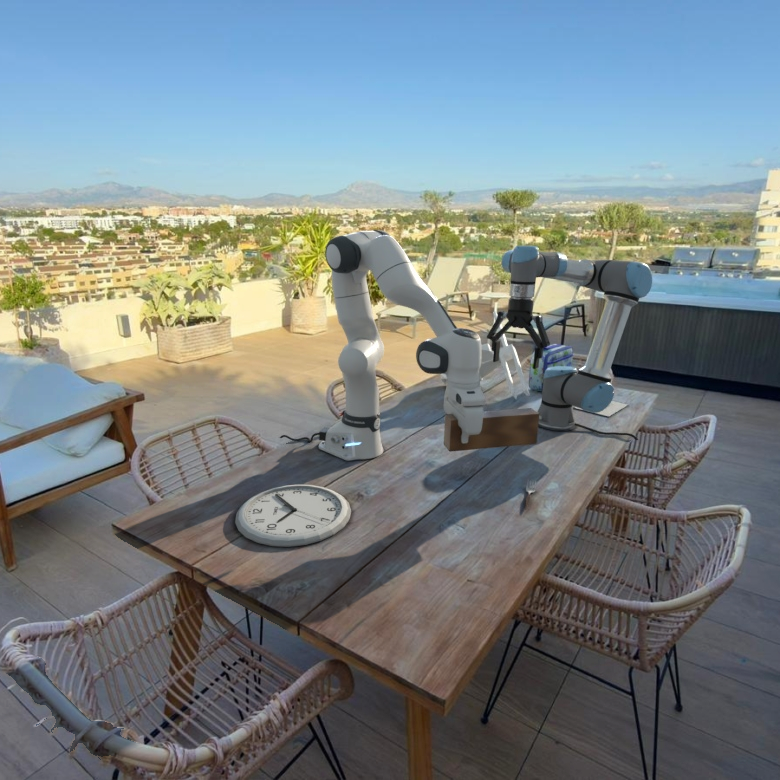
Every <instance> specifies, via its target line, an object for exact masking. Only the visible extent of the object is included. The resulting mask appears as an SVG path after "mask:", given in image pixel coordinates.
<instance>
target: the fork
mask: <svg viewBox="0 0 780 780" xmlns="http://www.w3.org/2000/svg"><path fill="white" fill-rule="evenodd" d="M536 483H537V480H536V479H535V480H534V482H532V479H530V481H529V478H527V482H526V487H525V492H526V493H528V495H527V496H526V497H525V510H526V511H527V509H528V507H529V504H530V502H531V494H532V493H535V491H536Z"/></svg>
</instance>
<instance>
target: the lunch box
mask: <svg viewBox="0 0 780 780" xmlns="http://www.w3.org/2000/svg"><path fill="white" fill-rule="evenodd" d="M534 353H535V350H534V351H533V352H532V354H531V357H530V362H529V374H528V375H529V376H528V387H529V388H528V389H530V390H534V391H539V392H542V390H543V380H544V379H543V378H544V374H545V370H546V369H547V368H549V367H555V366H569V367H573V358H574V349H573V346H571V345H565V344H558V343H553V344H550V346H548V347H544V349H543V357H542V358H540V359H539V367H538V368H536V369H533V363H534Z"/></svg>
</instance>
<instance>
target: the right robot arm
mask: <svg viewBox="0 0 780 780" xmlns="http://www.w3.org/2000/svg"><path fill="white" fill-rule="evenodd" d="M539 250H540V249H539V247H538V246H537V245H516V246H514V248H513V249H509V250H507V251H506V252H504V254H503V255H502V258H501V268H502V269H503V271H504V272H507V273H510V279H509V281H510V282H509V292H508V295H509V298H508V303H507V312H506V311H505V310H500V311H498V312H497V314H498V316H497V319H496V321H495V320H494V323H493V324H492V326H491V328H490V329H489V332H488V333H487V335H486V339H487V340H490V341H491V348H492V351H494V355H493V362H496V361H499V351H500V348H501V340H500V339H501V338H500V337H501V336H502V335H503V334H506V332H507V331H508V330H510V328H511V327H512V328H515V329H516V328H518V329H520V330H521V329H524V330H525V331H527V333H528V335H529V336H530V338H531V339H532V341H533V343H534V344H535V346H536V347H534V351H535V353H534V363H533V369H536V368H538V367H539V359H540V358H542V357H543V349H544V347H548V346H550V345H551V342H550V339H549V336H548V333H547V331H546V328H545V325H544V322H543V315H542V314H538V315H534V314H533V310H534V302H535V300H534V299H533V298H535V293H536V283H537V278H543V279H551V280H557V281H564V282H569V283H573V284H574V285H576V286H577V287H583V288H586V289H589V290H594V291H597V292H600V293H603V294H602V295H603V298H604V301H605V304H604V307H603V309H602V313H601V315H600V319H599V321H598V323H597V324H598V325H597V328H596V331H595V334H594V337H593V340H592V342H591V345H590V348H589V352H588V354H587V357H586V360H585V363H584V366H582V367H580V368H579V369H577V367H574V366H572V367H569V366H555V367H549V368H547V369H546V370H545V374H544V378H543V379H544V380H543V390H542V391H541V402H540V405H539V407H538V410H537V412H538V413H539V424H538V428H542V429H544V430H549V431H556V432H567V431H572V430H574V429H575V428H576V427H578V428H582V429H584V430H588V431H591V432H593V433H595V434H599V435H605V436H611V435H613V436H629V437H632V438H633V439H634V440H635V441H639V438H638V437H637V436H636V435H634V434H633V433H629V432H613V431H611V432H608V431H607V432H605V431H600V430H597V429H595V428H591V427H588V426H585V425H582V424H580V423H576V418H575V417H576V416H575V413H574V407H578V408H581V409H583V410H582V411H584V410H585V411H584V412H588V411H589V412H588V413H592V412H593V414H596V413H598V412H601V411H603V410H604V409H605V408H607V407H608V405H609V404H610V403H611V401H613V399H614V396H615V387H614V386H613V385H612V384H611V383H612V379H613V378H612V376H611V375H610V371H611V369H612V365H613V362H614V360H615V356H616V354H617V350H618V348H619V344H620V341H621V339H622V336H623V333H624V330H625V327H626V324H627V321H628V319H629V315H630V312H631V310H632V308H633V307H634V306H637V305H638V304H639V302H640V299H642V298H645V297H646V296H648V294H649V293H650V291H651V290H652V287H653V286H652V285H653V274H652V270H651V268H650V266H649V265H648V264H646V263H644V262H640V261H635V260H631V261H630V260H614V259H586V258H583V259H579V260H574V259H570V258H567V256H566V255H565V254H564V253H563V252H558V251H539ZM504 319H507V321H506V323H505V324H504V325H503V326H502V327H503V328H502V329H501V330H500V331H498V328H499V326H500V324H502V322H503V321H504ZM532 321H533V322H534V323H535V326H536V329H537V331H538V332H537V331H536V330H535V328H534V325H533V324H532V323H531V322H532Z"/></svg>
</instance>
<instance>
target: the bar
mask: <svg viewBox="0 0 780 780" xmlns="http://www.w3.org/2000/svg"><path fill="white" fill-rule="evenodd" d="M538 424H539V413H538V411H537V410H535V409H534V408H532V407H528V408H527V407H525V408H513V409H512V408H511V409H510V408H509V409H501V410H500V409H499V410H485V411H484V410H483V423H482V430H481V432H480V433H479V434H477V435H469V437H468V443H462V442H461V441H460V435H462V429H461V428H460V427H459V426H458V419H457V418H456V417H455V416H454V415H453V414H447V413H445V414H444V427H443V428H444V429H443V430H444V431H443V446H444V447H445V448H446V449H447V451H448V452H451V453H452V452H462V451H471V450H472V451H473V450H484V449H495V448H497V449H498V448H506V447H519V446H530V445H537V443H538V442H537V441H538V431H539V426H538Z"/></svg>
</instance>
